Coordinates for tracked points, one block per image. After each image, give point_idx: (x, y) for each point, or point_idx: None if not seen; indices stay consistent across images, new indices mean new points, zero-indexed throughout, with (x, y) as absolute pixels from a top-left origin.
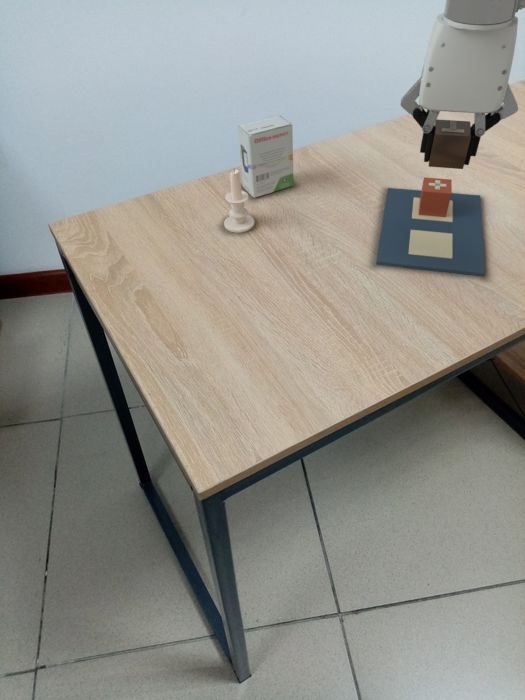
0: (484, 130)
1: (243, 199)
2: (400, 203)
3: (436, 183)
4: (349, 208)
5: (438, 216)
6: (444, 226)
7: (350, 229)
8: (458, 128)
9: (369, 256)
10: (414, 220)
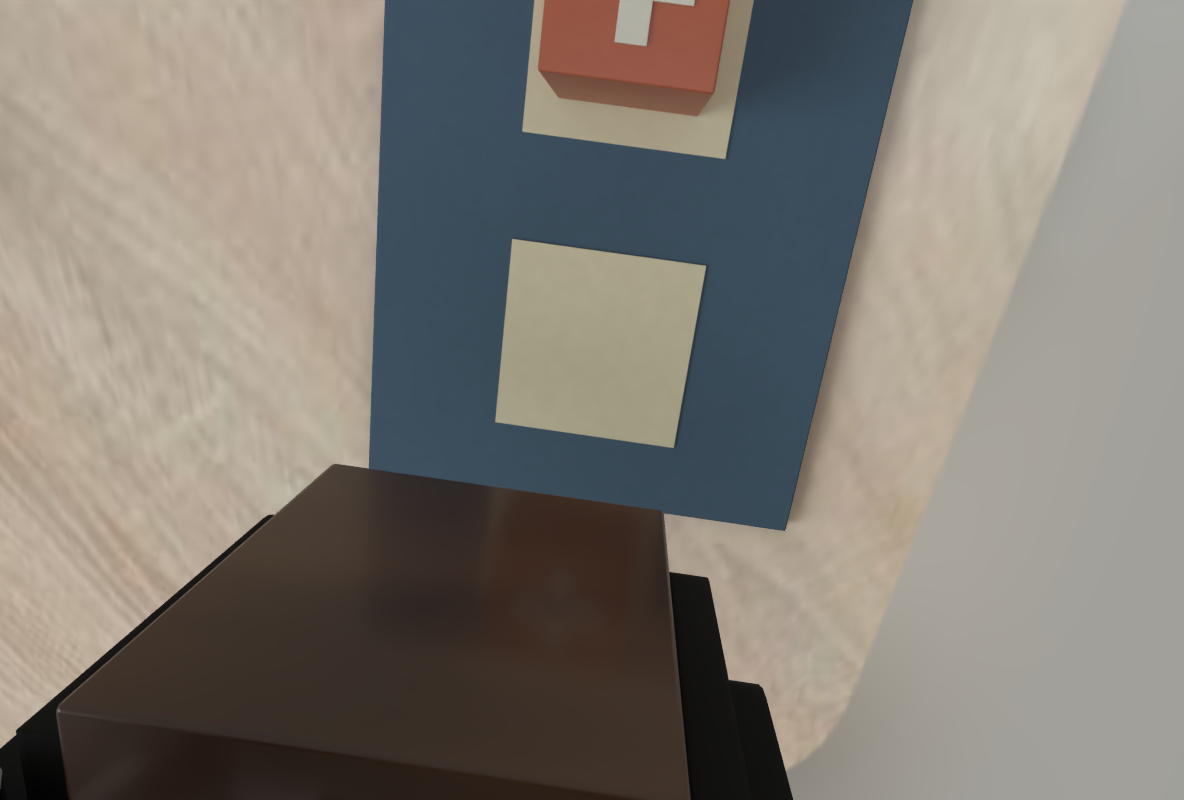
0: None
1: None
2: None
3: None
4: (208, 12)
5: (660, 111)
6: (678, 201)
7: (242, 215)
8: None
9: (345, 412)
10: (535, 149)
